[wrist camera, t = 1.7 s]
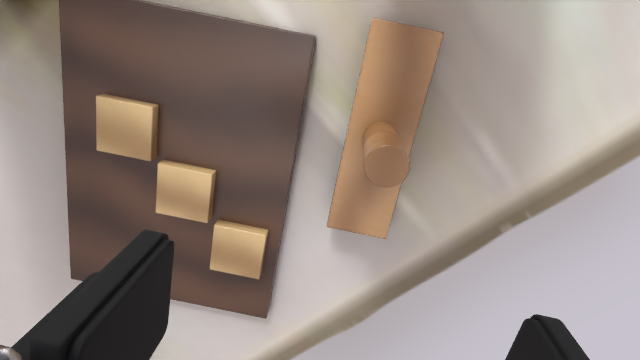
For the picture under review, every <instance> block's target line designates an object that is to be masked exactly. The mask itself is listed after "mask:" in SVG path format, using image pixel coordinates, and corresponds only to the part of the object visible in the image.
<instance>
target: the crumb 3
mask: <svg viewBox="0 0 640 360" xmlns="http://www.w3.org/2000/svg"><path fill="white" fill-rule="evenodd" d="M267 237H268V230H267V229H263V228H258V227H253V226H248V225H243V224H238V223H233V222H228V221H223V220H218V221H217V222H216V223H215V225H214V232H213V241H212V251H211V260H210V269H211V270H216V271H221V272H226V273H230V274H235V275H240V276H245V277H250V278H255V279H259V278H260V276H261V273H262V268H263V261H264V255H265V249H266V243H267Z"/></svg>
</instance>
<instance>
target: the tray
mask: <svg viewBox="0 0 640 360" xmlns="http://www.w3.org/2000/svg"><path fill="white" fill-rule="evenodd" d="M59 9H60V32H61V56H62V79H63V103H64V126H65V150H66V173H67V197H68V220H69V244H70V267H71V279H76V280H81V281H84V280H85V279H86V278H87V277H88V276H89V275H91V274H92V273H95V272H100V271H101V270H102V269H103V268H104V267H105V266H106V265H107V264H108V263H109V262H110V261H111V260H112V259H114V258H115V257H116V256H117V255H118V254H119V253H120V252H121V251H122V250H123V249H124V248H125V247H126V246H127V245H128V244H129V243H130V242H131V241H132V240H134V239H135V238H136V237H137V236H138V235H139V234H140V233H141V232H142V231H143V230H145V229H147V230H152V231H156V232H161V233H165V234H167V235H168V237H169V240H171V241H174V258H173V270H172V281H171V293H170V299H173V300H178V301H183V302H188V303H193V304H197V305H202V306H207V307H212V308H217V309H222V310H227V311H232V312H236V313H241V314H246V315H251V316H256V317H261V318H267V315H268V311H269V305H270V300H271V294H272V288H273V283H274V277H275V271H276V265H277V260H278V254H279V248H280V243H281V237H282V231H283V225H284V220H285V214H286V208H287V202H288V197H289V191H290V185H291V180H292V174H293V168H294V162H295V157H296V151H297V145H298V140H299V134H300V128H301V122H302V117H303V111H304V105H305V99H306V94H307V88H308V82H309V77H310V71H311V65H312V59H313V54H314V48H315V42H316V36H313V35H308V34H303V33H298V32H293V31H288V30H283V29H278V28H273V27H269V26H264V25H259V24H254V23H249V22H244V21H239V20H234V19H229V18H224V17H219V16H214V15H209V14H204V13H199V12H194V11H190V10H185V9H180V8H175V7H170V6H165V5H160V4H155V3H150V2H145V1H140V0H59ZM101 94H108V95H113V96H118V97H123V98H128V99H132V100H137V101H142V102H147V103H152V104H157V105H159V111H158V134H157V157H156V158H155V159H153V160H152V161H146V160H141V159H136V158H131V157H127V156H122V155H117V154H112V153H107V152H102V151H97V140H96V96H97V95H101ZM162 160H168V161H173V162H178V163H183V164H188V165H193V166H198V167H203V168H208V169H213V170H216V179H215V189H214V199H213V208H212V218H211V219H210V220H209V222H208V223H204V222H199V221H194V220H189V219H184V218H179V217H174V216H170V215H165V214H160V213H156V194H157V172H158V163H159V162H161V161H162ZM218 220H223V221H228V222H233V223H238V224H243V225H248V226H253V227H258V228H263V229H267V230H268V237H267V243H266V249H265V255H264V261H263V268H262V273H261V276H260V278H259V279H255V278H250V277H245V276H240V275H235V274H230V273H226V272H221V271H216V270H211V269H210V260H211V251H212V241H213V232H214V225H215V223H216V222H217V221H218Z"/></svg>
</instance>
